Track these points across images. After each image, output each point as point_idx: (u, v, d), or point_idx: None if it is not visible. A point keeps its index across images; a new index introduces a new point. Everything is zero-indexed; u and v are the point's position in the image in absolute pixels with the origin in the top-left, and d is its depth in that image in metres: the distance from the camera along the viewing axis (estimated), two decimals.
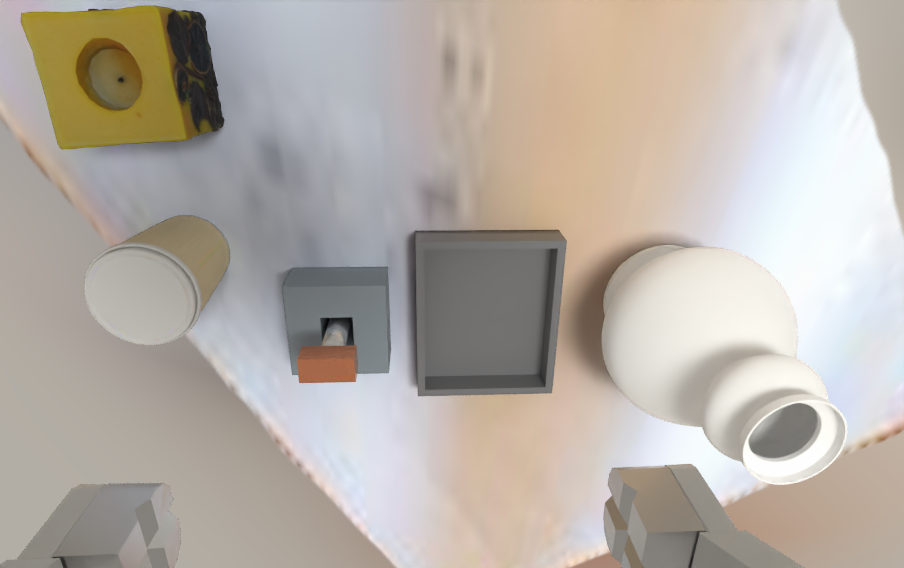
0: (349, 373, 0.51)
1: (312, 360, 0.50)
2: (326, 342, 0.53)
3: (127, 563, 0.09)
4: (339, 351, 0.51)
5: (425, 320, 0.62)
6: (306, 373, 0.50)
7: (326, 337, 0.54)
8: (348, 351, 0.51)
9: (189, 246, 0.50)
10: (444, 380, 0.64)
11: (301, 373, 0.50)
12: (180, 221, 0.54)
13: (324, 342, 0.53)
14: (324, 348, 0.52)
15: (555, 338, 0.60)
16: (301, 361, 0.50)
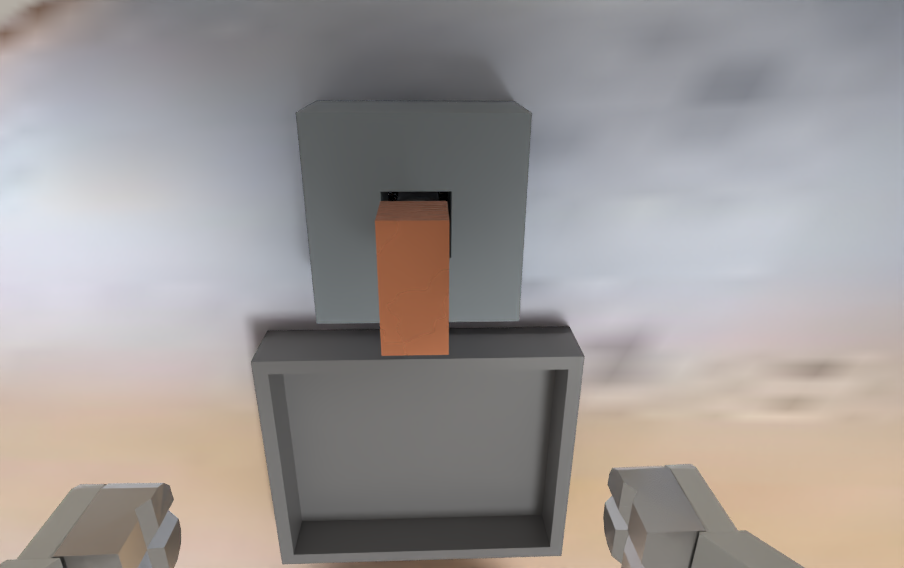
0: (407, 343, 0.20)
1: (447, 260, 0.19)
2: None
3: (127, 563, 0.09)
4: None
5: None
6: (405, 241, 0.18)
7: None
8: None
9: None
10: (280, 390, 0.33)
11: (405, 228, 0.18)
12: None
13: None
14: None
15: (391, 558, 0.36)
16: (443, 231, 0.18)
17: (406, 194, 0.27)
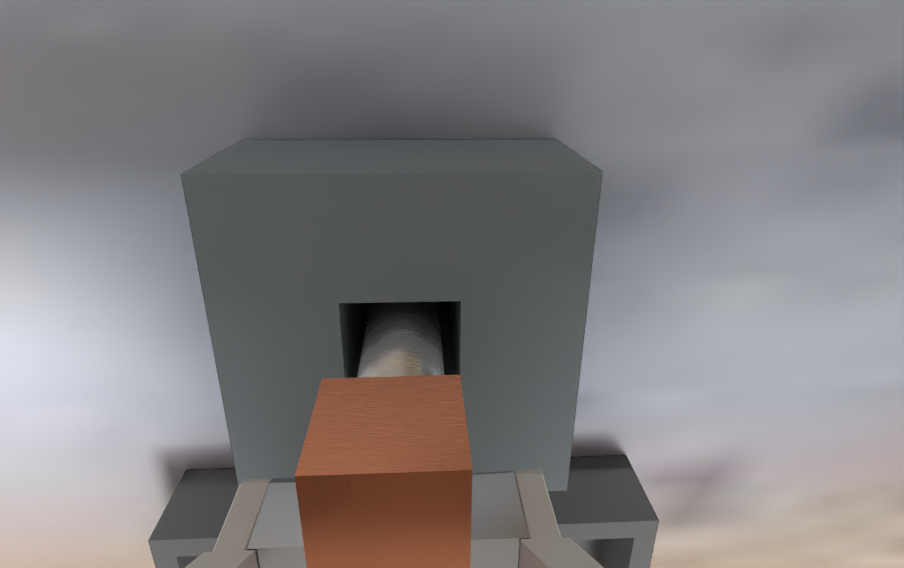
0: None
1: (466, 544, 0.08)
2: None
3: None
4: None
5: None
6: (370, 513, 0.08)
7: None
8: None
9: None
10: None
11: (369, 489, 0.08)
12: None
13: None
14: None
15: None
16: (458, 491, 0.08)
17: None
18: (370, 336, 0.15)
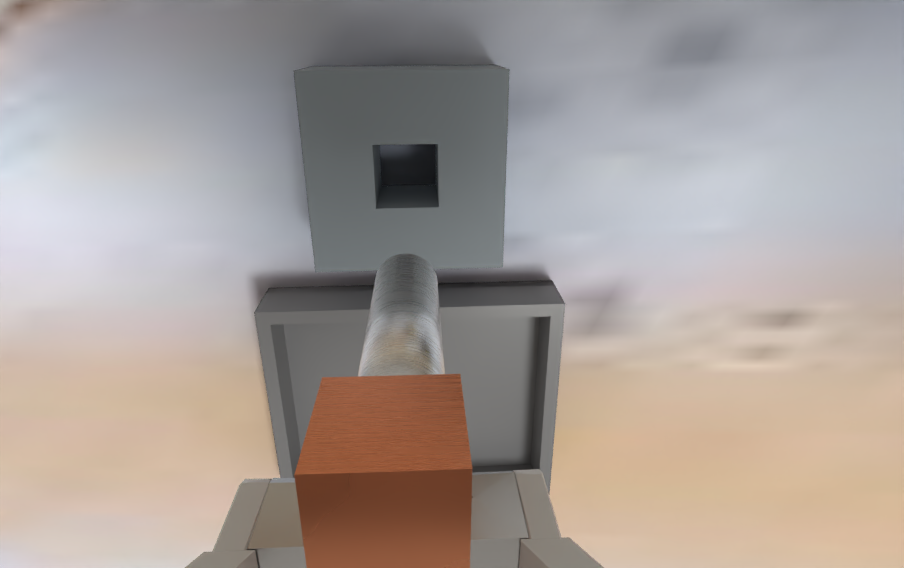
0: None
1: (466, 543, 0.08)
2: None
3: None
4: None
5: None
6: (370, 512, 0.08)
7: None
8: None
9: None
10: (281, 343, 0.35)
11: (369, 488, 0.08)
12: None
13: None
14: None
15: None
16: (458, 490, 0.08)
17: (386, 293, 0.17)
18: (371, 335, 0.15)
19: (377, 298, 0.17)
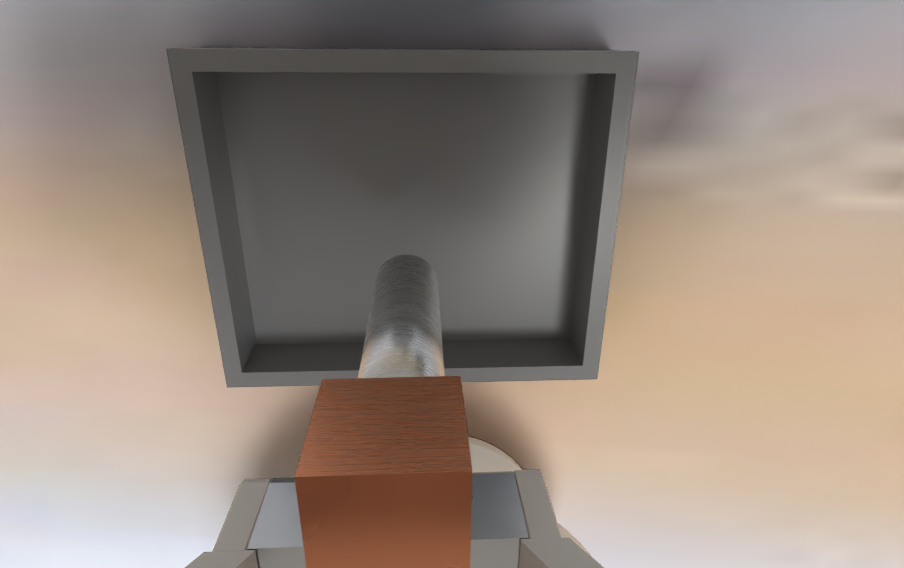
0: None
1: (466, 546, 0.08)
2: None
3: None
4: None
5: (385, 72, 0.24)
6: (370, 514, 0.08)
7: None
8: None
9: None
10: (216, 125, 0.24)
11: (369, 490, 0.08)
12: None
13: None
14: None
15: None
16: (458, 493, 0.08)
17: (386, 294, 0.17)
18: (371, 337, 0.15)
19: (377, 299, 0.17)
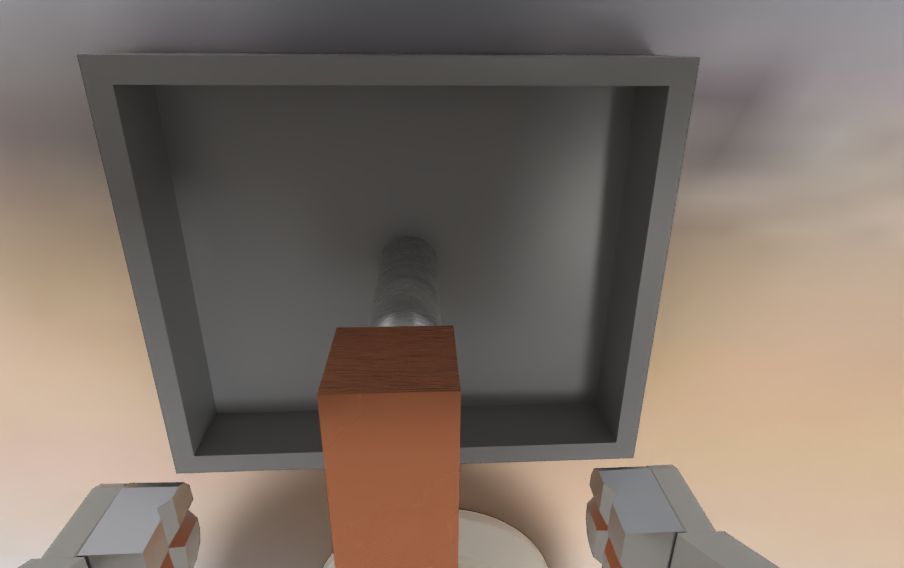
0: None
1: (456, 456, 0.10)
2: None
3: (151, 562, 0.09)
4: None
5: None
6: (377, 428, 0.10)
7: None
8: None
9: None
10: (154, 151, 0.19)
11: (377, 407, 0.10)
12: None
13: None
14: None
15: None
16: (449, 410, 0.10)
17: (390, 270, 0.19)
18: (376, 305, 0.17)
19: (382, 274, 0.19)
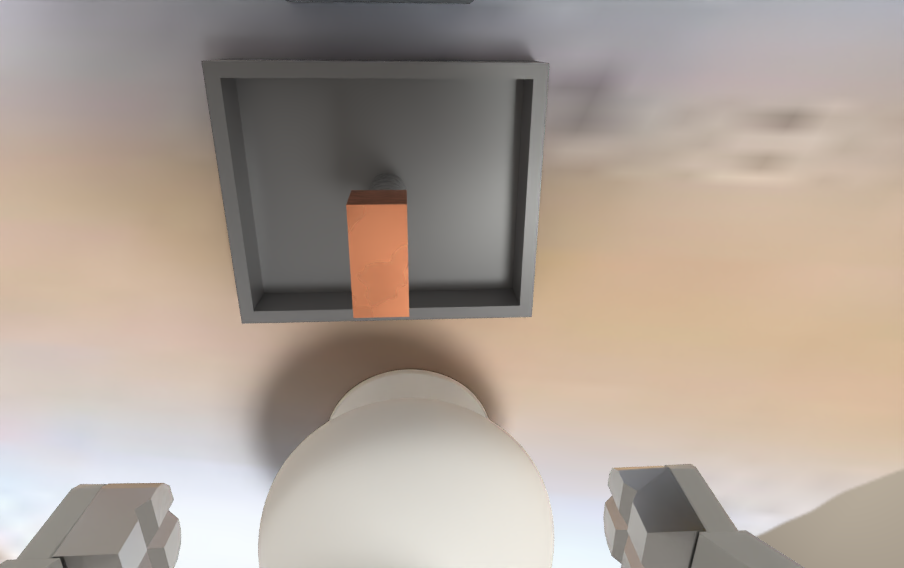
0: (374, 307, 0.24)
1: (406, 237, 0.23)
2: None
3: (127, 563, 0.09)
4: (408, 274, 0.25)
5: (364, 78, 0.32)
6: (371, 222, 0.23)
7: None
8: None
9: None
10: (235, 118, 0.32)
11: (371, 211, 0.23)
12: None
13: None
14: None
15: (356, 318, 0.35)
16: (402, 213, 0.23)
17: (376, 187, 0.32)
18: None
19: None
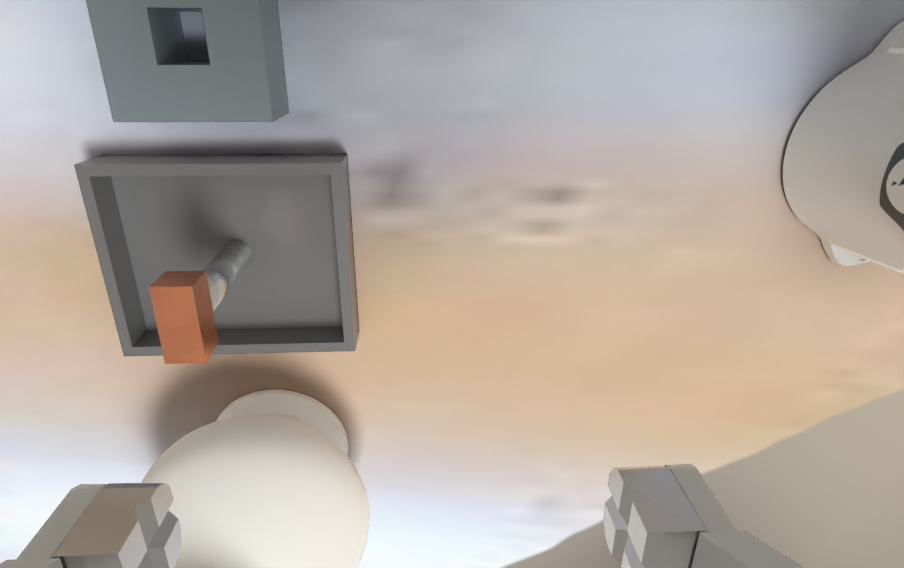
0: (179, 356, 0.34)
1: (195, 308, 0.33)
2: (213, 296, 0.36)
3: (127, 563, 0.09)
4: (209, 330, 0.35)
5: None
6: (168, 298, 0.32)
7: (217, 285, 0.37)
8: (211, 342, 0.35)
9: None
10: (109, 201, 0.41)
11: (167, 291, 0.32)
12: None
13: (211, 289, 0.36)
14: (209, 305, 0.35)
15: (214, 352, 0.45)
16: (190, 292, 0.32)
17: (216, 254, 0.41)
18: None
19: None
